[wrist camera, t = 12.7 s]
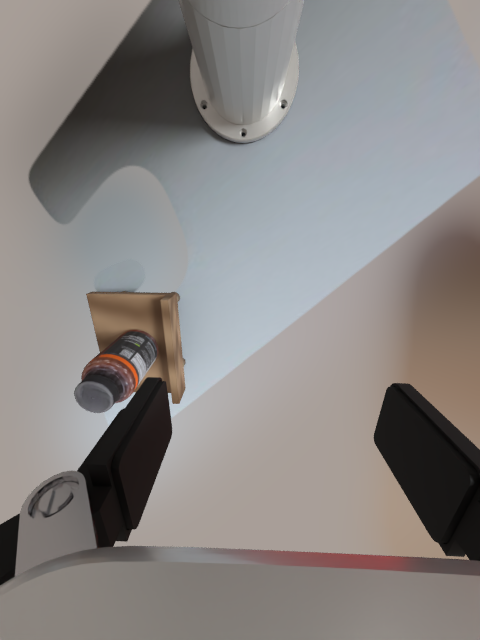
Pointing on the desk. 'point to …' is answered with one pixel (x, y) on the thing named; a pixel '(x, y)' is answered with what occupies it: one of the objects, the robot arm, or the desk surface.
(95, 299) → the peg shelf
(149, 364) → the supplement bottle
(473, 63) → the desk surface
